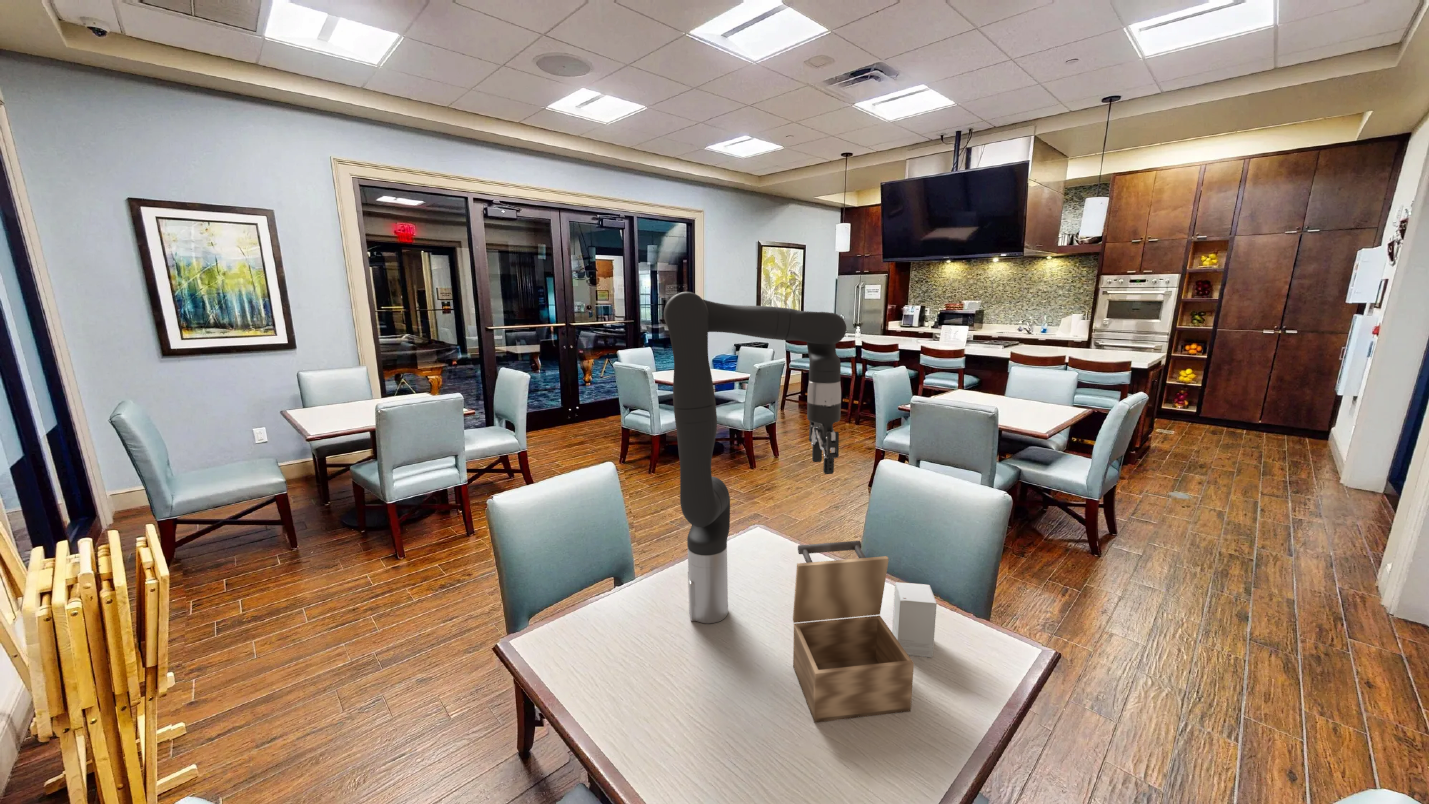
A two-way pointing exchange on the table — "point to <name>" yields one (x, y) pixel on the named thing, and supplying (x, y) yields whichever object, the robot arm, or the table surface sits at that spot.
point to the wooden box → (851, 668)
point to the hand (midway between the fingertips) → (822, 467)
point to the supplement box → (914, 618)
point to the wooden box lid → (838, 584)
